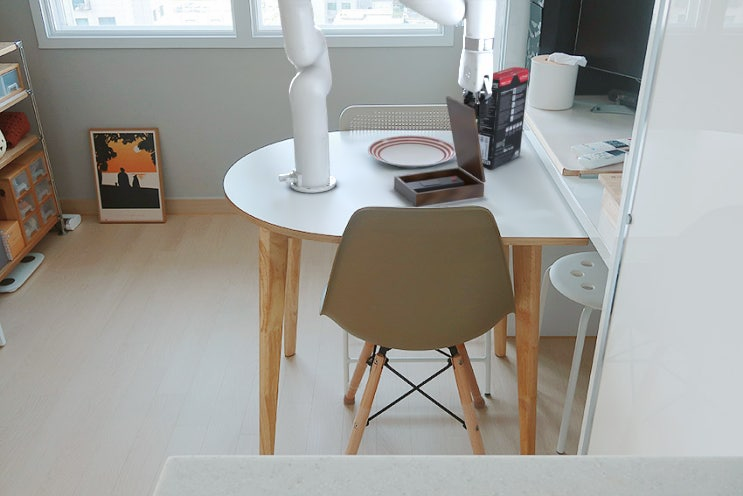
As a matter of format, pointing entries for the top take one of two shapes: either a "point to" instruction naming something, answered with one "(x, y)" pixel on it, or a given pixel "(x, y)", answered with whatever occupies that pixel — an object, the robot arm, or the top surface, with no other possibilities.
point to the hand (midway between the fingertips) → (474, 115)
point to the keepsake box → (468, 191)
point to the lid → (466, 137)
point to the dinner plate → (412, 151)
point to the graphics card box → (503, 117)
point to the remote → (436, 184)
